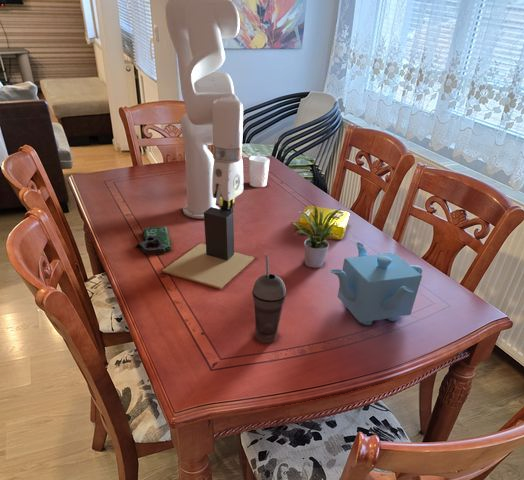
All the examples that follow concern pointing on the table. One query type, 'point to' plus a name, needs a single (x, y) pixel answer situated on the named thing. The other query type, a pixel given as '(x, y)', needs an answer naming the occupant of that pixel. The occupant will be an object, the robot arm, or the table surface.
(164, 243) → the gun
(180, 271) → the cork mat
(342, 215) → the yellow package
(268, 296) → the beverage cup
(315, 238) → the house plant
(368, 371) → the table surface
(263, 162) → the white cup
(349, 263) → the teakettle
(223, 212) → the black device
